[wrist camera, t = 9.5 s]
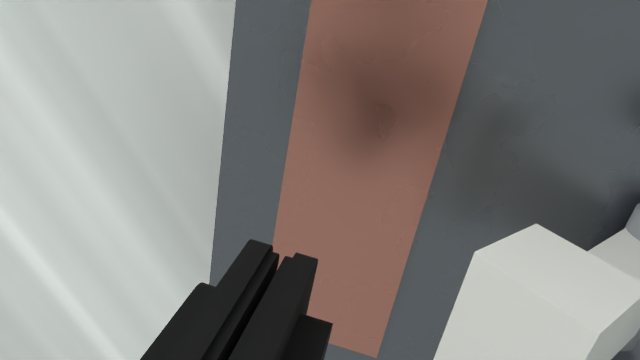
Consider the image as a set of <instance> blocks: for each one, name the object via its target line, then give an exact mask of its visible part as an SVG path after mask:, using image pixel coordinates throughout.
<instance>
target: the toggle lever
mask: <svg viewBox="0 0 640 360" xmlns="http://www.w3.org/2000/svg"><path fill="white" fill-rule="evenodd" d="M639 339H640V203H638V204H637V205H636V207H635V209H634V211H633V213H632V215H631V216H630V218H629V220H628V222H627V224H626V226H625V228H624V229H623V230H621V231H620V232H618V233H616V234H615V235H613V236H612V237H610V238H608V239H607V240H605V241H603V242H602V243H600V244H599V245H597V246H595V247H594V248H592V249H590V250H589V251H585V250H583V249H582V248H580V247H578V246H576V245H574V244H573V243H571V242H569V241H567V240H565V239H564V238H562V237H560V236H558V235H556V234H555V233H553V232H551V231H549V230H547V229H545V228H544V227H542V226H540V225H538V224H534V225H532V226H530V227H527V228H525V229H523V230H521V231H519V232H517V233H514V234H512V235H510V236H508V237H506V238H503V239H501V240H499V241H497V242H495V243H493V244H490V245H488V246H486V247H484V248H482V249H479V250H477V251H475V252H474V255H473V257H472V260H471V262H470V265H469V268H468V270H467V273H466V276H465V278H464V281H463V283H462V286H461V289H460V291H459V294H458V296H457V299H456V302H455V304H454V307H453V310H452V312H451V315H450V317H449V320H448V323H447V325H446V328H445V330H444V333H443V336H442V338H441V341H440V343H439V346H438V349H437V351H436V354H435V357H434V359H433V360H611V359H612V358H613V357H614V356H615V355H616V354H617V353H618V352H619V351H630V350H632V349H633V348H634V347H635V345H636V344H637V342H638V340H639Z"/></svg>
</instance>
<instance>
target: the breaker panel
mask: <svg viewBox="0 0 640 360" xmlns="http://www.w3.org/2000/svg"><path fill="white" fill-rule="evenodd" d="M638 203H640V0H236V7H235V18H234V28H233V39H232V49H231V60H230V71H229V81H228V92H227V103H226V113H225V124H224V134H223V145H222V156H221V166H220V177H219V187H218V198H217V209H216V219H215V230H214V240H213V251H212V262H211V272H210V283H209V285H212V286H215V287H216V286H217V284H218V283H219V282H220V280H221V279H222V277H223V276H224V275H225V273H226V272H227V270H228V269H229V267H230V266H231V265H232V263H233V262H234V260H235V259H236V258H237V256H238V255H239V253H240V252H241V250H242V249H243V248H244V246H245V245H246V243H247V242H248V241H249V240H250V239H253V240H256V241H260V242H263V243H266V244H270V245H272V246H273V252H275V253H278V254H279V263H278V268H279V266H280V264H281V262H282V261H283V259H284V257H285V256H288V257H292V258H293V256H294V254H295V253H296V252H297V253H300V254H304V255H307V256H310V257H314V258H317V259H318V265H317V269H316V274H315V278H314V283H313V287H312V292H311V296H310V301H309V306H308V310H307V315H308V316H311V317H314V318H317V319H321V320H324V321H327V322H330V323H333V326H332V331H331V335H330V339H329V342H328V346H327V350H326V354H325V358H324V360H433V359H434V357H435V354H436V351H437V349H438V346H439V343H440V341H441V338H442V336H443V333H444V330H445V328H446V325H447V323H448V320H449V317H450V315H451V312H452V310H453V307H454V304H455V302H456V299H457V296H458V294H459V291H460V289H461V286H462V283H463V281H464V278H465V276H466V273H467V270H468V268H469V265H470V262H471V260H472V257H473V255H474V252H475V251H477V250H479V249H482V248H484V247H486V246H488V245H490V244H493V243H495V242H497V241H499V240H501V239H503V238H506V237H508V236H510V235H512V234H514V233H517V232H519V231H521V230H523V229H525V228H527V227H530V226H532V225H534V224H538V225H540V226H542V227H544V228H545V229H547V230H549V231H551V232H553V233H555V234H556V235H558V236H560V237H562V238H564V239H565V240H567V241H569V242H571V243H573V244H574V245H576V246H578V247H580V248H582V249H583V250H585V251H589V250H590V249H592V248H594V247H595V246H597V245H599V244H600V243H602V242H603V241H605V240H607V239H608V238H610V237H612V236H613V235H615V234H616V233H618V232H620V231H621V230H623V229H624V228H625V226H626V224H627V222H628V220H629V218H630V216H631V215H632V213H633V211H634V209H635V207H636V205H637V204H638ZM278 268H277V270H278ZM611 360H640V339H639V340H638V342H637V344H636V345H635V347H634V348H633V349H632V350H630V351H619V352H618V353H617V354H616V355H615V356H614V357H613V358H612V359H611Z"/></svg>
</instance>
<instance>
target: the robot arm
mask: <svg viewBox="0 0 640 360" xmlns="http://www.w3.org/2000/svg"><path fill="white" fill-rule="evenodd" d="M278 263H279V254H278V253H275V252H273V246H272V245H270V244H266V243H263V242H260V241H256V240H253V239H250V240H249V241H248V242H247V243H246V245H245V246H244V248H243V249H242V250H241V252H240V253H239V255H238V256H237V258H236V259H235V260H234V262H233V263H232V265H231V266H230V267H229V269H228V270H227V272H226V273H225V275H224V276H223V277H222V279H221V280H220V282H219V283H218V284H217V286H216V287H215V286H212V285H208V284H205V283H200V284H198V285H197V286H196V287H195V289H194V290H193V291H192V293H191V294H190V295H189V296H188V298H187V299H186V300H185V302H184V303H183V304H182V306H181V307H180V308H179V309H178V311H177V312H176V313H175V315H174V316H173V317H172V319H171V320H170V321H169V323H168V324H167V325H166V326H165V328H164V329H163V330H162V332H161V333H160V334H159V336H158V337H157V338H156V340H155V341H154V342H153V343H152V345H151V346H150V347H149V349H148V350H147V351H146V353H145V354H144V355H143V356H142V358H141V359H140V360H324V358H325V354H326V350H327V346H328V342H329V339H330V335H331V331H332V326H333V323H330V322H327V321H324V320H321V319H317V318H314V317H311V316H308V315H307V310H308V306H309V301H310V296H311V292H312V287H313V283H314V278H315V274H316V269H317V265H318V259H317V258H314V257H310V256H307V255H304V254H300V253H297V252H296V253H295V254H294V256H293V258H292V257H288V256H285V257H284V259H283V261H282V262H281V264H280V266H279V268H278ZM277 268H278V270H277Z"/></svg>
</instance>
